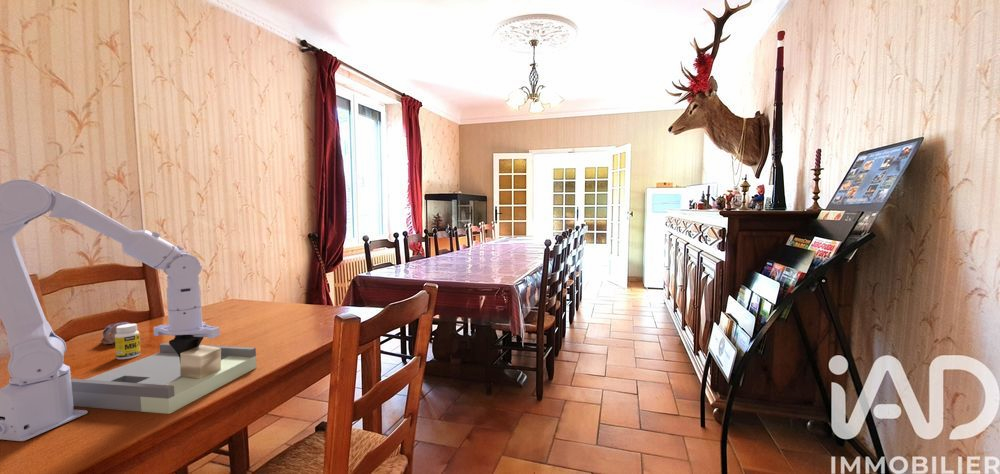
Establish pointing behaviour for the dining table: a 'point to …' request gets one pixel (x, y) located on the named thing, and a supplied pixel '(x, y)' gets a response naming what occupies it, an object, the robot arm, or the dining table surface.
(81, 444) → the dining table surface
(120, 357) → the supplement bottle
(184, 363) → the birch block
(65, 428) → the dining table surface
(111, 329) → the skull
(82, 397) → the board
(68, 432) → the dining table surface
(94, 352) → the dining table surface
